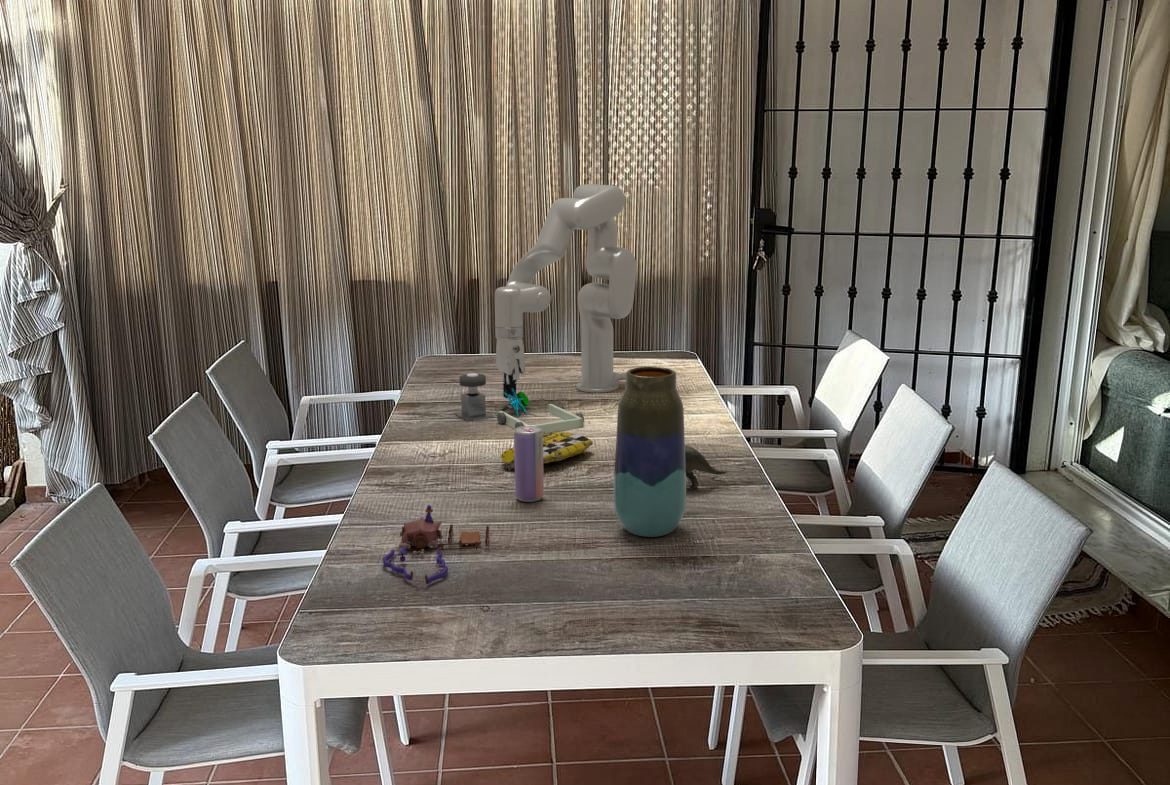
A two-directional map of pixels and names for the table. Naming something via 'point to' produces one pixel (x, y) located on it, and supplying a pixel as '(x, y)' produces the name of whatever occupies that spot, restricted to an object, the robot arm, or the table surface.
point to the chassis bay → (568, 423)
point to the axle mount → (473, 407)
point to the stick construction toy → (517, 401)
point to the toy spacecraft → (554, 448)
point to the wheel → (472, 381)
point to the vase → (650, 453)
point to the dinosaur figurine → (697, 465)
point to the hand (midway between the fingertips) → (509, 397)
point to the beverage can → (528, 463)
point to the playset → (429, 544)
